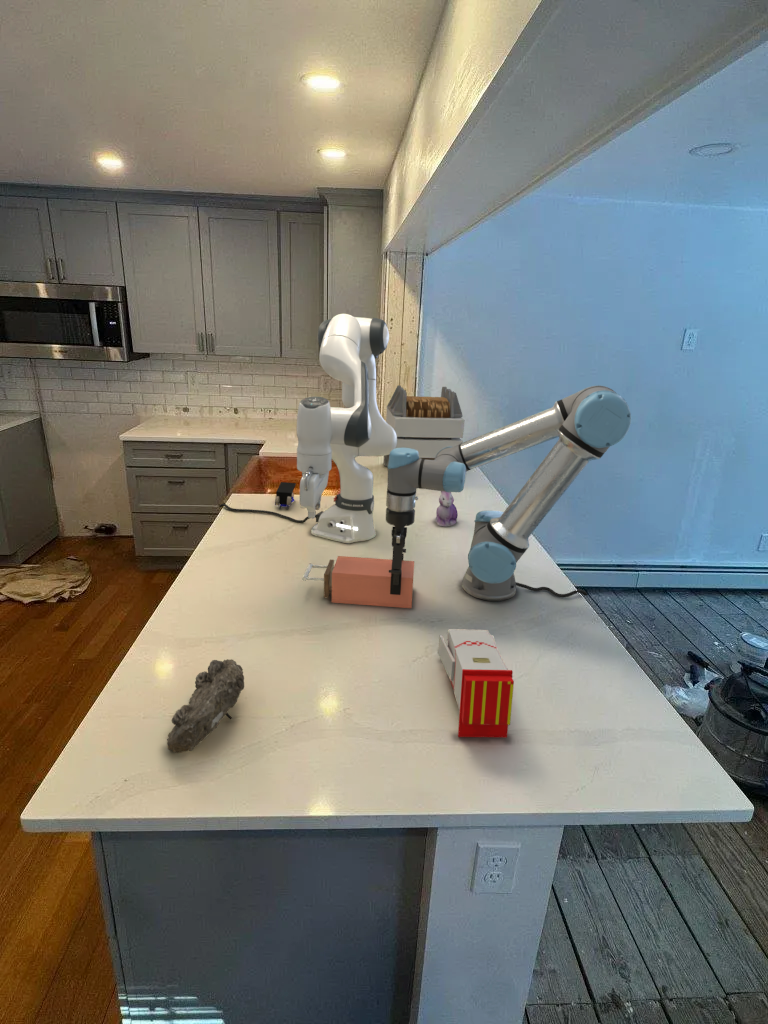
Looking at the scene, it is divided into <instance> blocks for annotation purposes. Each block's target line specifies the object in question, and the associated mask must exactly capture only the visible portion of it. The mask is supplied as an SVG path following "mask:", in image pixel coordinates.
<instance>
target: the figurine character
mask: <svg viewBox="0 0 768 1024" xmlns="http://www.w3.org/2000/svg"><path fill="white" fill-rule="evenodd" d="M296 485H297V483H296V482H286V481H285V482H284V481H280V483H279V486H278V487H277V490H276V491H275V497H274V498H275V499H274V506H278V509H279V510H282V507H285V508H286V510H288V509H289V507H290V506H292V503H294V502H295V499H294V497H295V493H294V490H295V487H296Z"/></svg>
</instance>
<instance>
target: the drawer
mask: <svg viewBox="0 0 768 1024" xmlns="http://www.w3.org/2000/svg"><path fill="white" fill-rule="evenodd" d="M334 566H335V559H329V561H328V563H327V565H323V564H322V565H321V564H313V563H312V562H311V563H308V564H307V567H306V569H305V571H304V572H303V575H302V577H301V581H302V582H307V581H316V582H323V598H325V599H329V597H330V595H331V593H332V571H333V568H334ZM313 568H315V569H325V570H324V574H323V577H311V576H309V575H310V574H311V571H312V569H313Z"/></svg>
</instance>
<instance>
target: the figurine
mask: <svg viewBox="0 0 768 1024" xmlns="http://www.w3.org/2000/svg"><path fill="white" fill-rule="evenodd" d="M454 502H455V498H454V495H453V493H452V492H445V491H440V494H439V497H438V503H439V506H438V507H437V508H436V513H435V515H436V517H435V521H434V522H435V523H436V524H437V526H440V527H450V526H454V525H455V524H457V520H458V517H459V516H458V514H459V513H458V510H457V507H456V505H455V504H454Z"/></svg>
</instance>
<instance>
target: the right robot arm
mask: <svg viewBox="0 0 768 1024" xmlns="http://www.w3.org/2000/svg"><path fill="white" fill-rule="evenodd" d="M631 424H632V413H631V409H630V406H629V404H628V402H627V400H625V398H624V397H622V395H620V394H619V393H617V392H616V391H615V390H613V389H612V388H610V387H608V386H604V385H591V386H588V387H585V388H583V389H581V390H579V391H577V392H575V393H573V394H570V395H567V396H566V397H563V398H562V399H558V400H556V401H555V402H554V404H553V406H552V407H550V408H547V409H545V410H542V411H539V412H537V413H535V414H532V415H529V416H526V417H524V418H523V419H519V420H517V421H514V422H512V423H509V424H506V425H504V426H502V427H499V428H497V429H494V430H492V431H488V432H487V433H483V434H481V435H479V436H476V437H473V438H471V439H469V440H466V441H463V443H461V444H459V445H456V446H454V447H445V448H443V449H442V450H440V451H439V452H438V453H437V455H436V457H435V459H434V460H426V459H421V458H419V453H418V451H417V450H415V449H410V448H395V449H393V450H392V451H391V452H390V454H389V464H388V467H387V484H386V485H387V486H386V487H387V488H386V500H385V502H386V503H385V505H386V508H385V522H386V523H387V524H388V525H390V526H392V527H391V547H392V557H391V558H392V559H391V560H392V569H391V570H389V573H391V586H390V594H394V595H400V593H401V576H402V570H401V566H402V560H404V556H405V553H407V548H405V547H406V538H407V535H408V527H409V526H412V525H413V524H414V523H415V518H416V517H415V516H416V509H415V508H416V501H418V500H419V497H418V496H416V495H417V489H420V490H429V491H437V492H441V491H445V492H451V493H461V492H463V490H464V486H465V482H466V475H467V472H469V471H471V470H473V469H476V468H479V467H482V466H484V465H487V464H490V463H492V462H495V461H497V460H501V459H503V458H506V457H508V456H511V455H514V454H516V453H519V452H522V451H525V450H527V449H529V448H532V447H536V446H537V445H540V444H543V443H546V442H548V441H551V440H554V439H557V438H558V440H557V441H556V443H555V444H554V445H553V446H552V448H551V449H550V450H549V451H548V453H547V455H546V456H545V457H544V459H542V461H541V462H540V464H539V465H538V466H537V468H536V469H535V471H534V472H533V473H532V474H531V476H530V477H529V478H528V480H527V481H526V482H525V483H524V485H523V486H522V487H521V489H520V490H519V492H518V493H517V494H516V495H515V497H514V498H513V499H512V501H511V502H510V503H509V505H508V506H506V509H505V510H504V511H499V510H481V511H479V512H477V513H476V514H475V518H474V521H473V522H474V528H473V534H472V535H473V536H472V540H471V544H470V549H469V551H468V554H467V560H468V561H467V562H468V566H467V568H466V571H465V573H464V575H463V578H462V580H461V581H462V583H461V587H462V589H463V591H464V592H465V593H467V595H470V596H472V597H474V598H477V599H479V600H484V601H491V602H499V601H500V602H501V601H506V600H509V599H511V598H513V597H514V596H515V595H516V592H517V587H520V588H523V589H525V590H529V591H532V592H540V591H547V592H549V593H550V594H551V595H553V596H554V597H556V598H562V599H563V598H569V597H572V596H574V595H576V594H581V595H583V596H585V597H586V596H587V597H588V593H587V592H586V591H585V590H583V589H581V588H580V589H575V590H572V591H570V592H568V593H558V592H556V591H555V590H553V589H552V588H550V587H547V586H539V587H533V586H530V585H527V584H524V583H521V582H518V581H516V578H515V577H516V576H515V571H516V569H517V563H518V561H519V560H520V559H521V558H522V557H523V555H524V554H525V553H526V552H527V550H528V549H529V548H530V542H529V538H530V536H531V535H532V534H533V532H535V530H536V529H537V528H538V526H539V525H540V524H541V523H542V521H544V520H545V517H547V515H548V514H549V513H550V511H551V510H552V509H553V507H554V506H555V505H556V504H557V503H558V501H559V500H560V499H561V498H562V497H563V496H564V494H565V492H566V491H567V490H568V488H569V487H570V486H571V485H572V484H573V482H575V480H576V479H577V477H578V476H579V475H580V474H581V472H582V471H583V470H584V469H585V467H586V466H587V465H588V464H589V463H590V462H591V461H595V460H600V459H601V458H602V457H603V456H604V454H606V452H607V451H608V450H609V448H610V447H612V446H614V445H616V444H618V443H619V442H620V441H622V440H623V439H624V438H625V436H626V435H627V434H628V432H629V430H630V427H631ZM576 590H577V591H576ZM577 592H578V593H577Z"/></svg>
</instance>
